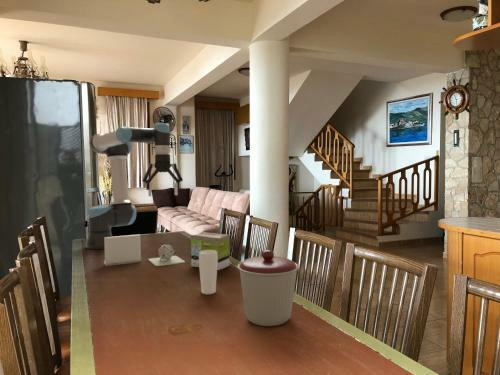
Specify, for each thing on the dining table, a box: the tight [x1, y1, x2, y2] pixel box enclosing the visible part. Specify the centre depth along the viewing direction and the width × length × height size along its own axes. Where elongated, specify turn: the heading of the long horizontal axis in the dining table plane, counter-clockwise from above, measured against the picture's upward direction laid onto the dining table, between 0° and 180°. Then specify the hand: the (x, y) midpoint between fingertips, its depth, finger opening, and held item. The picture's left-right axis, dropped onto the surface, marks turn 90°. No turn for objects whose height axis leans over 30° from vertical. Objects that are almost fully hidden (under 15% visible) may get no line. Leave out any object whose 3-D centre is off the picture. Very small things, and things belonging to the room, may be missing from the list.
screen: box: [103, 233, 142, 267], centre depth 187 cm, size 6×16×13 cm, turn 118°
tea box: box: [190, 231, 230, 271], centre depth 180 cm, size 15×10×15 cm
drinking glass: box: [198, 250, 218, 295], centre depth 143 cm, size 7×7×15 cm
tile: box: [147, 255, 186, 267], centre depth 190 cm, size 14×14×1 cm
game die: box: [155, 243, 177, 261], centre depth 189 cm, size 9×8×10 cm
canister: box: [237, 249, 299, 327], centre depth 117 cm, size 18×18×21 cm
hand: (163, 195), depth 202 cm, fingers open, 13 cm apart
